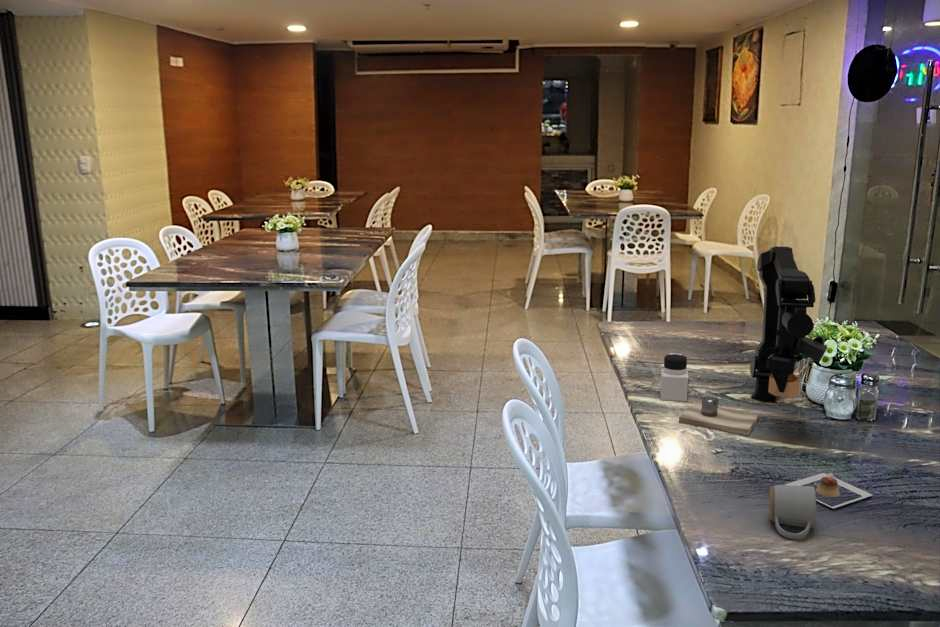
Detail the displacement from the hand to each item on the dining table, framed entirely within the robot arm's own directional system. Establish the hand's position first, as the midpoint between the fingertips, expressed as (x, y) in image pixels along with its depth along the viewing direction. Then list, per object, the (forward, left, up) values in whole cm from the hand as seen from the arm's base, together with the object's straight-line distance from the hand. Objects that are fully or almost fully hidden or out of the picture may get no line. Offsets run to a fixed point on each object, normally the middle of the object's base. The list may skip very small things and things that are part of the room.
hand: (784, 387), depth 194 cm
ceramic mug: (+49, +11, -11) cm, 52 cm away
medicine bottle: (-9, -30, -11) cm, 33 cm away
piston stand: (+3, -15, -11) cm, 18 cm away
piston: (+3, -17, -9) cm, 19 cm away
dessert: (+31, +15, -11) cm, 36 cm away
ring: (0, 0, -1) cm, 1 cm away
